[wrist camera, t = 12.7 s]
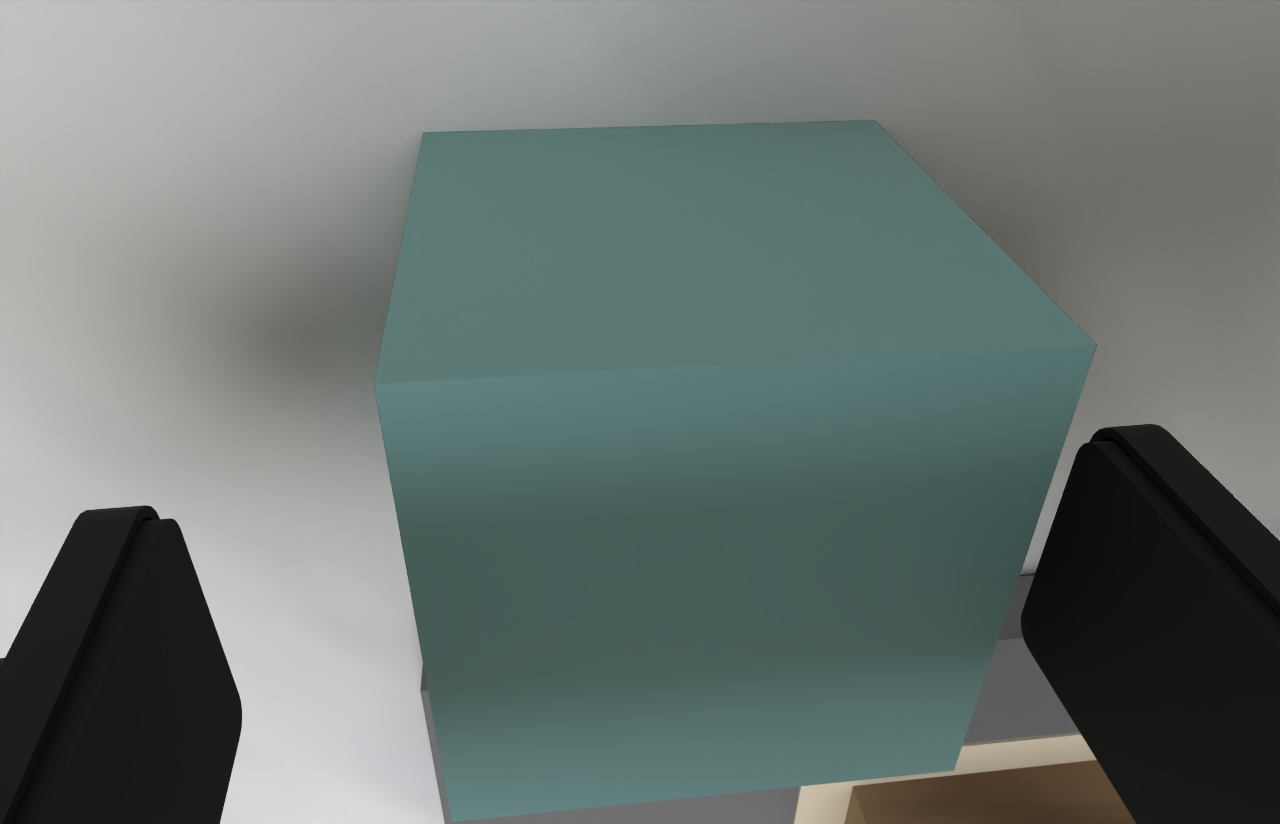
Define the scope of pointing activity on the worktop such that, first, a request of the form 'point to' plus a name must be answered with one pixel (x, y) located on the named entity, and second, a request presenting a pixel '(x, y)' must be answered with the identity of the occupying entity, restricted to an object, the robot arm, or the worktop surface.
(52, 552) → the worktop surface
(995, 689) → the build plate
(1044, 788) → the walnut block
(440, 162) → the teal block
